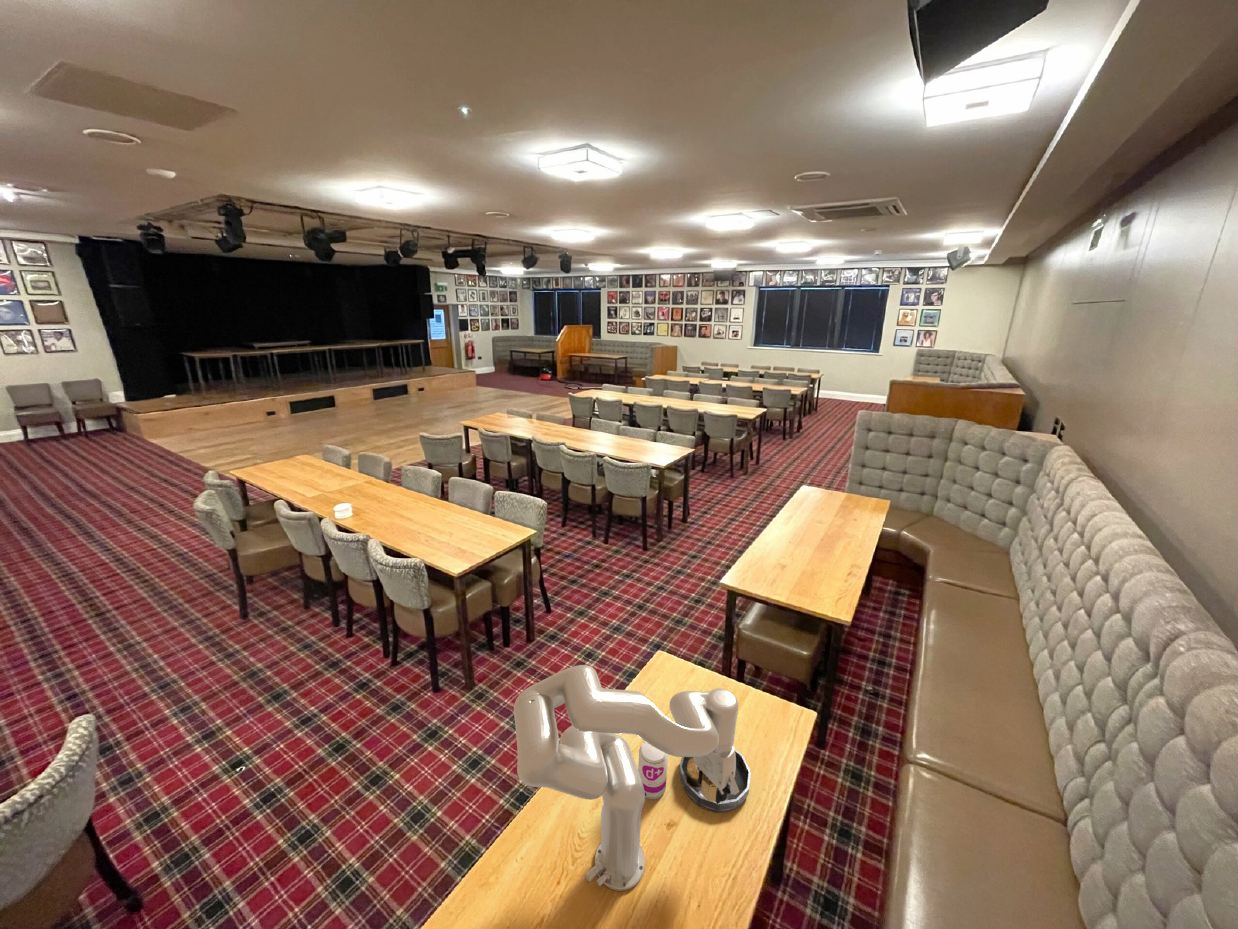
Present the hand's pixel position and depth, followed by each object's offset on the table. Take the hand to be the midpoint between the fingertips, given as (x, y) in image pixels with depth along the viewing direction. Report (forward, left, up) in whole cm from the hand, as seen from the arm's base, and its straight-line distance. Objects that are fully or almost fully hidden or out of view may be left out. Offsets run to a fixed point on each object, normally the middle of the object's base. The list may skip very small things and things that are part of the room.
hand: (711, 789), depth 125 cm
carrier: (+14, +9, -17) cm, 24 cm away
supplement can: (-2, +19, -18) cm, 26 cm away
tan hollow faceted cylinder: (0, 0, 0) cm, 0 cm away
